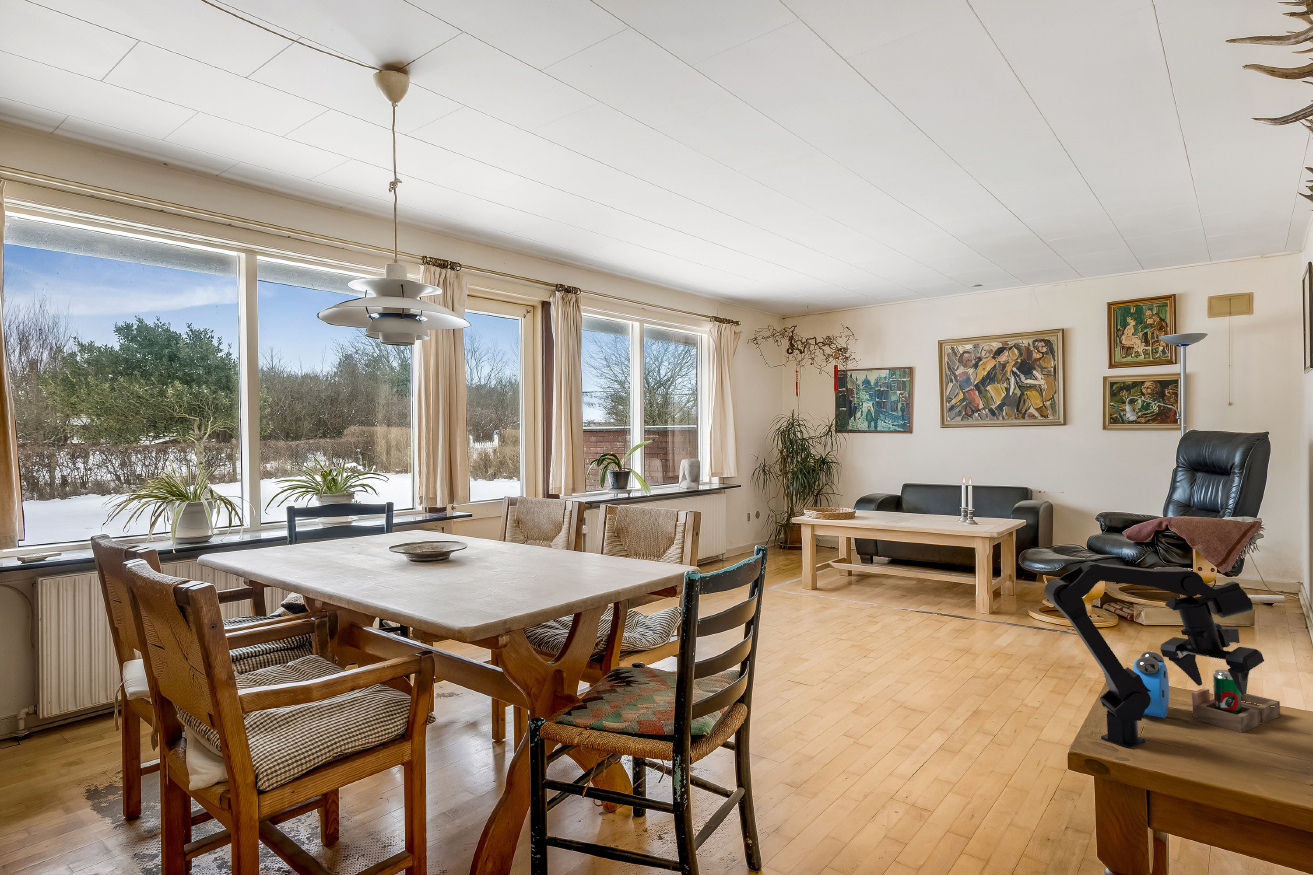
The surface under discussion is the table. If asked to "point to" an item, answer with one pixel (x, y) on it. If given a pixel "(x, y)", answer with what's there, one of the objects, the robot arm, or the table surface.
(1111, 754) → the table surface
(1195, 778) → the table surface
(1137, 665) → the alarm clock
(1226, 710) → the soda can
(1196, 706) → the socket block
